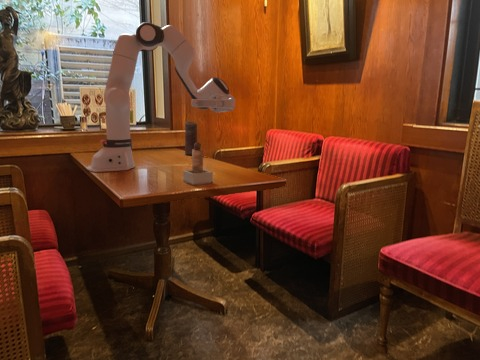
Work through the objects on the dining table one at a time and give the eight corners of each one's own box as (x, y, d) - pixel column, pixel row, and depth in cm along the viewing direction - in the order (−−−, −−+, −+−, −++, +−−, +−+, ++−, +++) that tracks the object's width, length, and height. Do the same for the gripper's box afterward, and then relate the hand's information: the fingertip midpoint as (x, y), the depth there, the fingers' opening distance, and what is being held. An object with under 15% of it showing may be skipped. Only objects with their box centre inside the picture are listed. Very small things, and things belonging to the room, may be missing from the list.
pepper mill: (195, 182, 151) (195, 143, 148) (190, 180, 155) (190, 142, 151) (205, 180, 154) (204, 142, 150) (199, 178, 157) (199, 141, 154)
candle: (193, 153, 233) (193, 121, 229) (199, 154, 228) (199, 122, 223) (182, 154, 229) (182, 121, 224) (188, 155, 223) (188, 122, 219)
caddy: (193, 185, 148) (193, 174, 147) (183, 181, 156) (183, 170, 155) (212, 182, 153) (212, 172, 152) (201, 178, 161) (201, 168, 160)
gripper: (198, 96, 181) (184, 96, 169) (237, 96, 175) (226, 96, 162) (198, 109, 183) (185, 110, 170) (237, 110, 176) (226, 111, 163)
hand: (205, 103), depth 166 cm, fingers open, 8 cm apart
